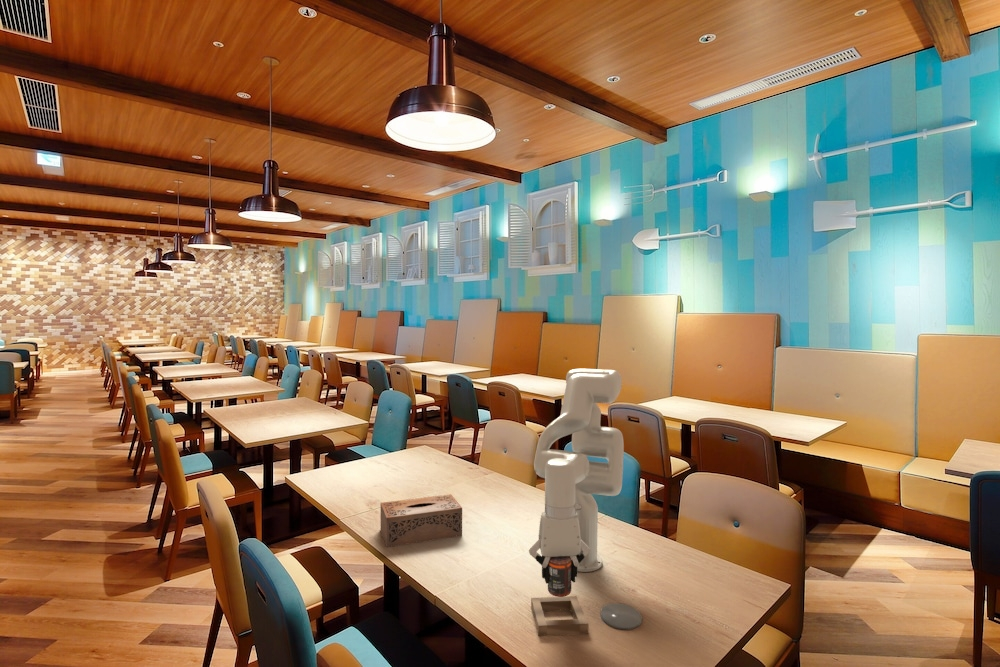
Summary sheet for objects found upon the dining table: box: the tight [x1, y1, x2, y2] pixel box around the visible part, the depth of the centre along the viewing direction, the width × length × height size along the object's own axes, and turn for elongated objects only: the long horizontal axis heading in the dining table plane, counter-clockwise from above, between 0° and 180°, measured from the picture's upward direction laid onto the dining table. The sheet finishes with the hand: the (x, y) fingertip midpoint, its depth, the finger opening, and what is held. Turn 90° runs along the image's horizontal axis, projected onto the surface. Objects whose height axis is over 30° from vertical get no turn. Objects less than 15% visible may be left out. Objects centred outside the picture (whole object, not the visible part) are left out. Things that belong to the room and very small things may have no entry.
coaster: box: [600, 602, 642, 630], centre depth 128 cm, size 10×10×1 cm
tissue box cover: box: [380, 493, 463, 548], centre depth 177 cm, size 26×14×10 cm, turn 111°
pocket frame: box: [530, 595, 589, 637], centre depth 127 cm, size 12×12×2 cm
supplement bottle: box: [547, 556, 572, 597], centre depth 127 cm, size 6×6×11 cm
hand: (559, 579), depth 127 cm, fingers closed on supplement bottle, 6 cm apart
